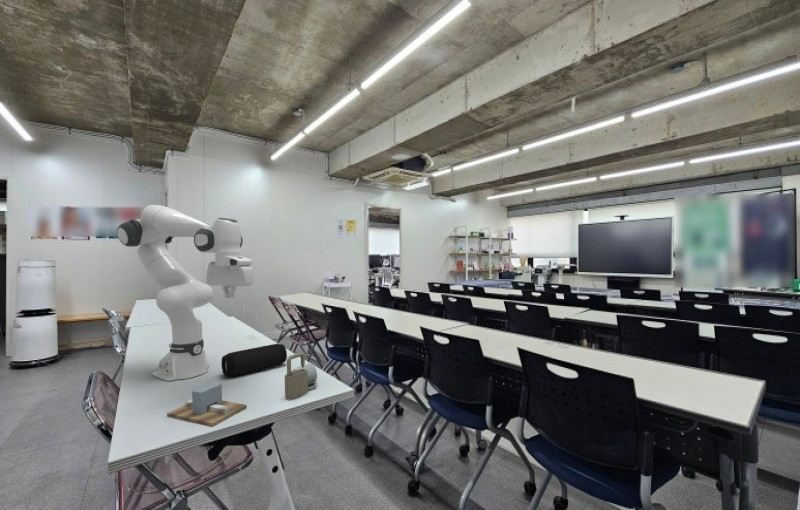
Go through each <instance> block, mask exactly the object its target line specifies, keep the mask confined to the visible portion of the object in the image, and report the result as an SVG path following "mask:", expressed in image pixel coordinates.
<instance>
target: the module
mask: <svg viewBox="0 0 800 510" xmlns="http://www.w3.org/2000/svg"><path fill="white" fill-rule="evenodd" d="M222 386H223V385H222V383H217V382H210V383H209V384H206V385H203V386H201V387H199V388H197V389H195V390H192V391H191V394H192V395H191V396H192V397H191V398H192V399H191V400H192V406H193V413H195V414H199V415H203V414H205V413H207V406H208V405H210V404H217V405H222V401H223V387H222Z"/></svg>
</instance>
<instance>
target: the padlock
mask: <svg viewBox="0 0 800 510" xmlns="http://www.w3.org/2000/svg"><path fill="white" fill-rule="evenodd" d="M297 358H300V367H301V366H302V368H304V365H306V361H305V360H306V359H305V354H304V353H303V352H298V353H295V354H290V355H289V356H287V359H286V374H285V375H284V396H285V397H284V399H285V398H286V400H288V399H289V400H288V401H290V399H291V400H295V399H298V398H300V397H302V396H304V395H306V394H307V393H309V390H308V387H309V385H308V373H307V370H306V369H300V370H296V371H293V372H291V371H292V361H293V360H294V359H297ZM294 398H295V399H294Z"/></svg>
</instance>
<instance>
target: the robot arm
mask: <svg viewBox="0 0 800 510" xmlns="http://www.w3.org/2000/svg"><path fill="white" fill-rule="evenodd" d="M140 214H141V215H140V217H141V218H138V219H134V218H133V219H129V220H127V221H125V222H123V223H121V224H119V225H118V227H117V229H116V235H117V238H118V240H119V242H120V243H121V244H122V245H124V246H126V247H129V248H130V247H132V248H133V247H137V251H136V253H137V256H138V258H139V260H140V263H141V264H142V265H143V267H144V268H145V270H146V271H147V272H148V274H149V275H150V276H151V278H152V279H153V280H154V282H155V283H156V284H158V285H159V286H160V287H164V288H163V289H160V291H158V292H157V295H156V299H155V303H156V307H158V309H159V310H161V311H162V312H164V314H166V316H167V318H168V320H169V322H170V325H171V333H172V334H171V336H172V342H171V343H169V344H168V345H169V346H168V348H169V347H170V348H169V352H168V353H166V355H164V356H163V357H162V358H160V360H159V363H158V370H155V371H153V372H152V373H151V374H152V375H153V377H156V378H158V379H161V380H163V381H165V382H171V381H177V380H184V379H185V380H186V379H191V378H195V377H198V376H201V375H203V374H205V373H207V372H208V368H209V364H207V363H208V362H207V356H206V351H205V349H204V347H205V346H204V345H205V341H204V339H203V323H202V321H201V319H199V318H197V317H196V315H195V313H194V310H193V309H196V308H197V309H198V308H201V307H204V306H206V305H207V304H209V303H210V302H212V300H213V298H214V292H213V291H214V290H213V288H212V286H213V287H214V286H218V287H219V286H221V289H222V291H223V293H224V298H225V299H234V298H235V293H236V291H237V289H238V287H247V286H252V285H253V283H254V271H253V267H252V265H253V260H252V259H251V258H249V257H245V256H243V255H242V250H241V248H242V246H243V242H244V241H243V236H242V234H241V233H242V232H241V227H240V224H239V221H238V220H236V219H234V218H228V217H217V218H215V220H214V222H213V223H211V224H209V223H206V222H203V221H201V220H198V219H197V218H194V217H191V216H189V215H187V214H186V213H185V214H184V213H183V212H181V211H178V210H177V209H174V208H171V207H168V206H165V205H159V204H149V205H147V206H146V207H144V209H143V210H142V211H141V213H140ZM174 238H193V243H194V246H195V248H196V250H198V251H199V252H201V253H206V254H207V253H208V254H209V253H210V254H212V253H213V254H214V256H215V257H214V260H215V261H214V260H213V261H212V260H211V261H210V263H209V264H208V266H207V269H206V275H205V276H206V277H205V278H206V279H205V283H204V282H202V281H199V280H198V279H197V278H196V277H194V276H193V275H192V274H190V273H188V272H187V270H185V269H183V267H182V266H181V265H180V264H179V262H178V261H177V260H176V258H175V257H174V256H173V255H172V254H171V252H169V251H168V249H167V248H166V244H171V243H172V240H173V239H174ZM152 375H151V376H152Z"/></svg>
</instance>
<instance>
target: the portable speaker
mask: <svg viewBox="0 0 800 510" xmlns="http://www.w3.org/2000/svg"><path fill="white" fill-rule="evenodd" d="M287 358H288V352H287V348H286V346H285V344H281V343H273V344H268V345H262V346H257V347H252V348H248V349H247V348H246V349H242V350H238V351H231V352H228V353H226V354H224V355H223V356H222V357H221V372H222V374H223V376H224V377H229V378H234V377H238V376H242V375H246V373H247V374H250V373H254V371H255V372H258V371H263V370H267V369H271V367H272V368H275V366H276V367H279V366H281V365H282V364H284V363H286V362H287ZM266 368H267V369H266ZM262 369H263V370H262Z"/></svg>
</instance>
